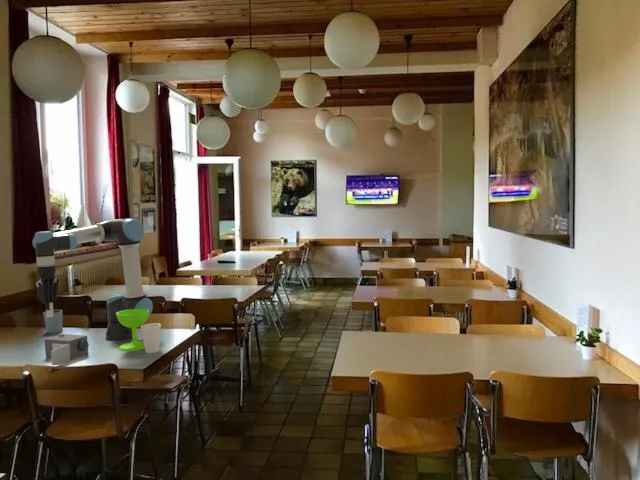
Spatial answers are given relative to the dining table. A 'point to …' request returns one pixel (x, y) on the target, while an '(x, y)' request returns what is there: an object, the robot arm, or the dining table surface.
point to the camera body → (76, 343)
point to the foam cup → (151, 337)
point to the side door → (61, 354)
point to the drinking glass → (54, 322)
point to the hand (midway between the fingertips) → (50, 316)
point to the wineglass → (132, 326)
